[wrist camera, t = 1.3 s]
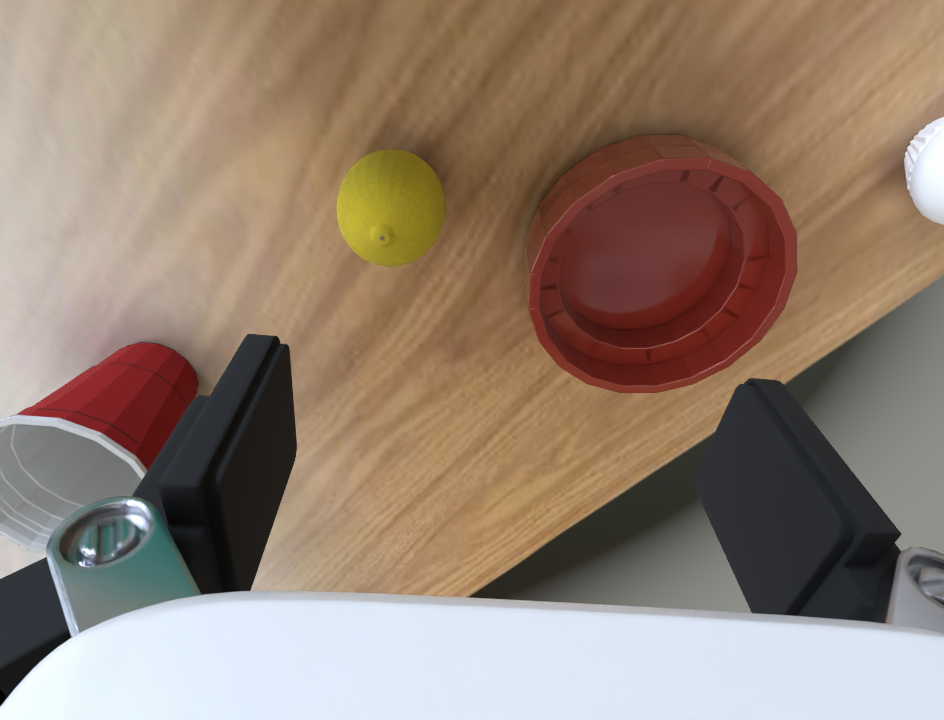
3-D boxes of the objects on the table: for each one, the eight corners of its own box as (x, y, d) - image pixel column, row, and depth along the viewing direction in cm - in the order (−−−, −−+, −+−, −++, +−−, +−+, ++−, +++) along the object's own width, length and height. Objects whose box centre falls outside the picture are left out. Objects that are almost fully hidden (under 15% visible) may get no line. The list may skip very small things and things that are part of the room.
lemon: (441, 235, 34) (433, 299, 28) (350, 219, 34) (319, 282, 27) (455, 142, 31) (450, 190, 25) (355, 123, 31) (321, 168, 24)
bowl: (699, 74, 29) (736, 92, 25) (792, 274, 36) (832, 315, 32) (477, 229, 34) (477, 265, 30) (594, 380, 41) (607, 427, 37)
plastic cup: (240, 330, 38) (159, 457, 29) (230, 441, 44) (160, 577, 35) (69, 287, 37) (-80, 406, 27) (83, 409, 43) (-35, 542, 33)
